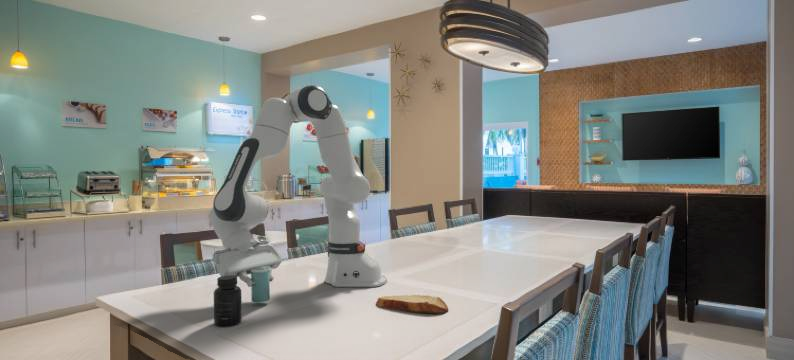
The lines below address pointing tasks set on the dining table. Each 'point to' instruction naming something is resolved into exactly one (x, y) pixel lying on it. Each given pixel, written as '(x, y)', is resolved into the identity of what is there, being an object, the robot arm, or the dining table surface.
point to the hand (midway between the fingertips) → (261, 283)
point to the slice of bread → (413, 303)
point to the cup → (260, 284)
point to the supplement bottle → (227, 302)
